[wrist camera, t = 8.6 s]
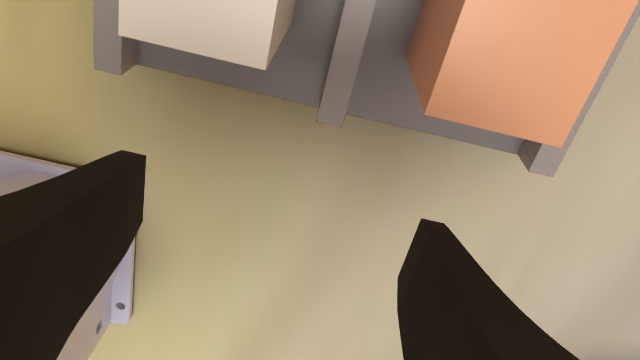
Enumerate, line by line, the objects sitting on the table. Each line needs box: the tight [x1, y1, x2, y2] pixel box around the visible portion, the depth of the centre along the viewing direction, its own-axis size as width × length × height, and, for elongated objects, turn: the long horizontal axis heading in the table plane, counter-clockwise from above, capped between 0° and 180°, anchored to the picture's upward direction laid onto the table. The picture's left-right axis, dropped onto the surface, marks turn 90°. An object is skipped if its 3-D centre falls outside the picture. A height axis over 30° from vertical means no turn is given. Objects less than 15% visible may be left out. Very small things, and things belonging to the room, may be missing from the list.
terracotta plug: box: [406, 0, 639, 148], centre depth 15 cm, size 6×4×6 cm, turn 167°
